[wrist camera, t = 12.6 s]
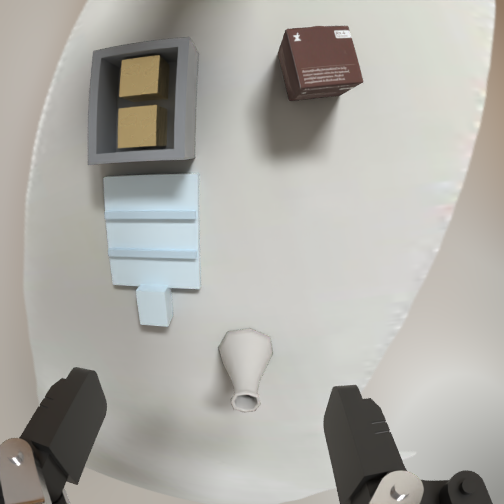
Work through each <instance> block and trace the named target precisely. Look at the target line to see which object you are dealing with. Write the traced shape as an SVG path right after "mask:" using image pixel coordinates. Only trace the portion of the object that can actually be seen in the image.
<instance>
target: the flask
mask: <svg viewBox="0 0 504 504" xmlns="http://www.w3.org/2000/svg"><path fill="white" fill-rule="evenodd" d="M219 351H220V354H221V358H222V361H223V364H224V366H225V368H226V370H227V372H228V374H229V376H230V378H231V381H232V383H233V387H234V396H233V397H232V398H231V404H232V407H233V409H235V410H238V411H241V412H252V411H256V409H257V408H258V407H259V406H260V405H261V402H260V398H259V394H258V387H259V383H260V380H261V378H262V376H263V373H264V371H265V369H266V367H267V365H268V363H269V361H270V359H271V357H272V355H273V350H272V344H271V338H270V336H268V335H265V334H263V333H260V332H258V331H256V330H253V329H251V328H248V329H241V330H234V331H228V332H227V334H226V335H225V337H224V339H223V340H222V342H221V344H220V346H219Z"/></svg>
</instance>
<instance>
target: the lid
mask: <svg viewBox="0 0 504 504" xmlns="http://www.w3.org/2000/svg"><path fill="white" fill-rule="evenodd" d="M103 181H104V202H105V212H104V214H105V219H106V229H107V240H108V256H109V258H110V266H111V274H112V281H113V285H126V286H139V287H138V288H137V290H136V297H137V304H138V311H139V318H140V324H141V325H153V326H166V327H168V326H169V323H170V321H171V319H172V316H173V305H172V293H171V288H186V289H200V287H201V264H200V217H199V173H188V174H146V175H124V176H107V177H103Z"/></svg>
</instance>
